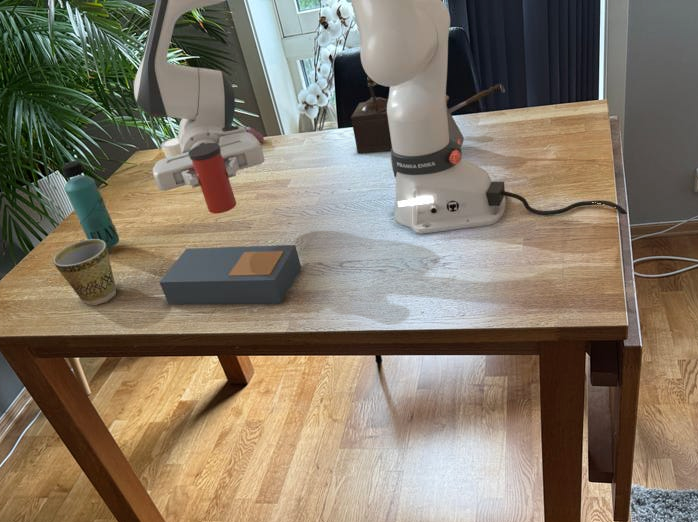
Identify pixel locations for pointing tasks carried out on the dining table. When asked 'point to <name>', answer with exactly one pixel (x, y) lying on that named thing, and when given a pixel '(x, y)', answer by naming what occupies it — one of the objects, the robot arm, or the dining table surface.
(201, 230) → the dining table surface
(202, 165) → the red canister
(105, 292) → the ceramic cup
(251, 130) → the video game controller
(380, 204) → the dining table surface
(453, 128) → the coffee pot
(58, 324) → the dining table surface
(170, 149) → the white short cylinder
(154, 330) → the dining table surface
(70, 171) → the beverage bottle
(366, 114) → the manual coffee grinder
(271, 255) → the platform
